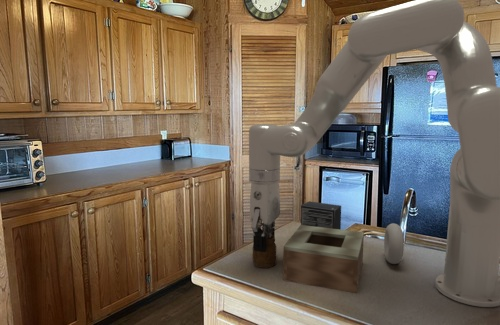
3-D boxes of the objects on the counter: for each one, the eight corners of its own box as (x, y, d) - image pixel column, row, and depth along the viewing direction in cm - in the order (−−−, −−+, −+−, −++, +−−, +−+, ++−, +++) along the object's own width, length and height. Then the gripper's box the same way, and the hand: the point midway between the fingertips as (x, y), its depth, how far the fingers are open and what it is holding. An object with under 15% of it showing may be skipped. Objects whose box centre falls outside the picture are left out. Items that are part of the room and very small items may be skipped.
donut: (404, 271, 85) (406, 231, 84) (388, 270, 86) (390, 230, 84) (395, 255, 95) (398, 218, 93) (382, 254, 96) (384, 217, 94)
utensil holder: (260, 270, 86) (260, 222, 84) (248, 260, 92) (247, 215, 90) (280, 265, 89) (281, 218, 87) (267, 256, 95) (267, 212, 93)
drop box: (362, 262, 90) (363, 232, 89) (356, 292, 76) (357, 256, 74) (300, 253, 96) (300, 224, 95) (283, 279, 81) (283, 246, 80)
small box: (341, 239, 107) (342, 204, 105) (334, 246, 101) (335, 210, 100) (308, 232, 112) (309, 200, 111) (299, 239, 107) (300, 204, 105)
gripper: (267, 183, 78) (267, 262, 81) (288, 170, 94) (288, 237, 96) (235, 180, 81) (236, 257, 83) (261, 168, 96) (261, 233, 99)
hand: (264, 245), depth 90 cm, fingers closed on utensil holder, 5 cm apart
